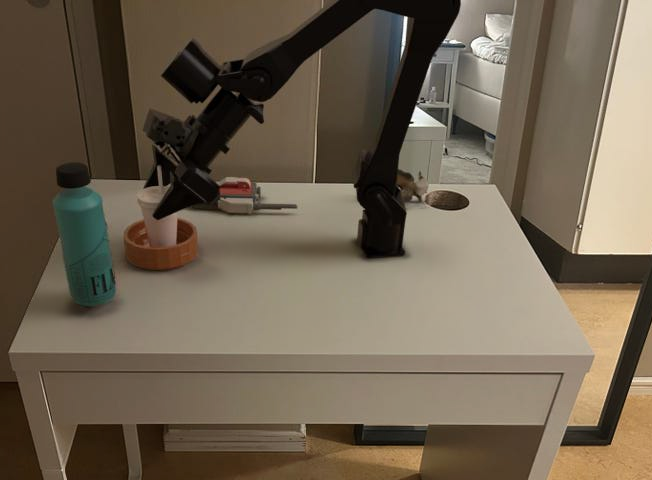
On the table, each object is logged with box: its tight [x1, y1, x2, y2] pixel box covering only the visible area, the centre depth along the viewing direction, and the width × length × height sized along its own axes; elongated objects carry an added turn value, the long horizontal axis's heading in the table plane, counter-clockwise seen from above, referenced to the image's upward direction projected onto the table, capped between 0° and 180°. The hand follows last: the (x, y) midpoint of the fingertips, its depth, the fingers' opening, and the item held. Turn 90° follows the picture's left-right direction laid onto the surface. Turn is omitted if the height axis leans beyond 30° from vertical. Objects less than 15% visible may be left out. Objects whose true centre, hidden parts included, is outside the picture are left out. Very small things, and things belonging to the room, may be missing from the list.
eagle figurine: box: [396, 168, 430, 204], centre depth 126 cm, size 8×7×9 cm
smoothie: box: [136, 165, 179, 248], centre depth 106 cm, size 6×6×14 cm
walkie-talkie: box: [192, 176, 298, 215], centre depth 125 cm, size 9×4×20 cm
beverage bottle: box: [52, 161, 117, 307], centre depth 93 cm, size 6×7×20 cm
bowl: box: [123, 217, 199, 271], centre depth 109 cm, size 11×11×4 cm
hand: (148, 207), depth 105 cm, fingers open, 8 cm apart
